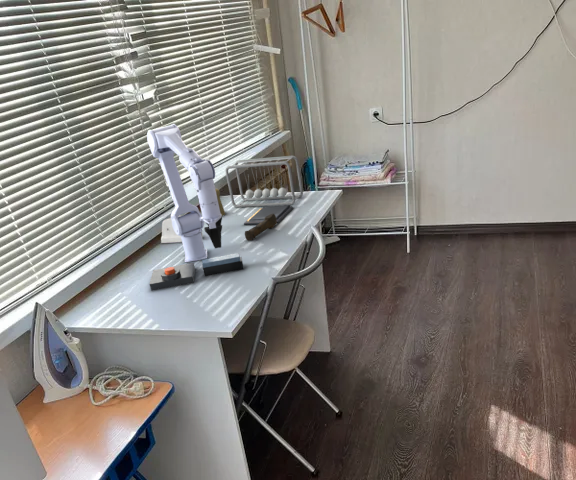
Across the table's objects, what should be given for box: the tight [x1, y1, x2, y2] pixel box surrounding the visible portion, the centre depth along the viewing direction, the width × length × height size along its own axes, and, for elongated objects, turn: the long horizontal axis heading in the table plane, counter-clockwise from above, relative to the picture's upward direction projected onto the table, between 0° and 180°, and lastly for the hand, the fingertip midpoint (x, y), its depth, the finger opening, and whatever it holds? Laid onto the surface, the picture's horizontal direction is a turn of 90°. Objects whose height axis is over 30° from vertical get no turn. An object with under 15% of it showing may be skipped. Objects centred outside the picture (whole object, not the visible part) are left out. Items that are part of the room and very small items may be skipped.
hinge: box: [160, 215, 204, 244], centre depth 237 cm, size 17×5×10 cm, turn 73°
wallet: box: [243, 205, 294, 226], centre depth 246 cm, size 20×2×15 cm
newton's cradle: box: [224, 155, 304, 208], centre depth 260 cm, size 30×10×18 cm, turn 69°
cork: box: [215, 188, 226, 217], centre depth 257 cm, size 6×6×11 cm
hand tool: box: [244, 214, 278, 242], centre depth 229 cm, size 19×4×5 cm, turn 146°
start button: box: [165, 266, 175, 275], centre depth 196 cm, size 3×3×2 cm
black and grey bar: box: [201, 252, 245, 277], centre depth 200 cm, size 4×13×4 cm, turn 96°
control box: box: [149, 262, 196, 292], centre depth 201 cm, size 13×14×4 cm
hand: (218, 243), depth 196 cm, fingers open, 7 cm apart
